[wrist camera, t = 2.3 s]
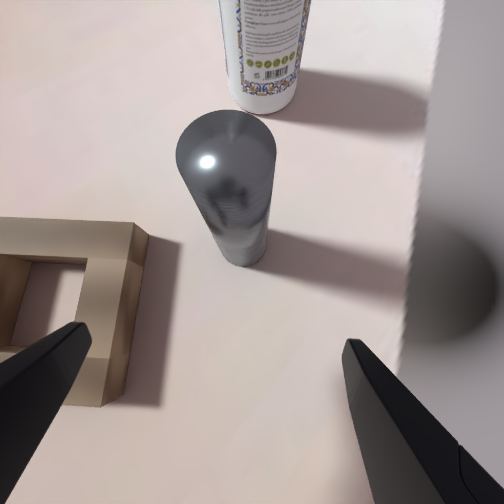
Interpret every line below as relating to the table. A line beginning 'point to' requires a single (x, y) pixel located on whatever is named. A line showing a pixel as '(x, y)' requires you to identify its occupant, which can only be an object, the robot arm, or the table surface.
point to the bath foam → (263, 50)
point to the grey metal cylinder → (230, 179)
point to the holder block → (92, 292)
